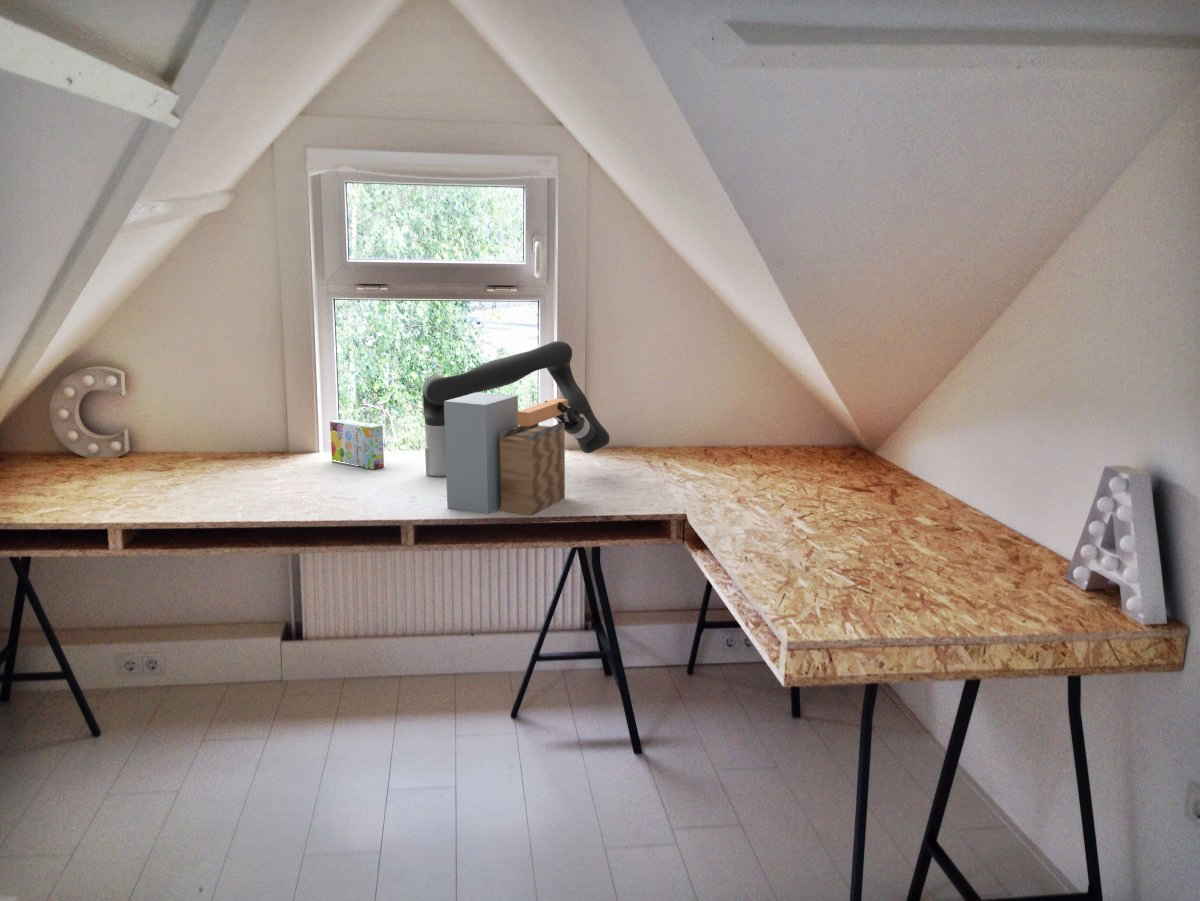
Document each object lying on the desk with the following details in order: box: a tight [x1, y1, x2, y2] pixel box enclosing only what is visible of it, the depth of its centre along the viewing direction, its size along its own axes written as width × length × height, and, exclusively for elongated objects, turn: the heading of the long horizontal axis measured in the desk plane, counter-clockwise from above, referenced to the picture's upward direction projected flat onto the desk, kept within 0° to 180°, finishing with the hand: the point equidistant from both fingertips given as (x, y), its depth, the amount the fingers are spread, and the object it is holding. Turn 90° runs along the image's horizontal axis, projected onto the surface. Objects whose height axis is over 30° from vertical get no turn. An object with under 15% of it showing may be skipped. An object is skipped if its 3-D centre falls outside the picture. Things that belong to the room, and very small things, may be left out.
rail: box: [517, 398, 568, 426], centre depth 281 cm, size 24×4×4 cm, turn 155°
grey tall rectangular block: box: [444, 392, 519, 515], centre depth 279 cm, size 18×14×32 cm
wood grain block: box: [500, 423, 566, 517], centre depth 279 cm, size 21×10×24 cm, turn 155°
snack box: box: [329, 419, 385, 470], centre depth 329 cm, size 21×6×15 cm, turn 58°
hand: (552, 404), depth 286 cm, fingers closed on rail, 4 cm apart
